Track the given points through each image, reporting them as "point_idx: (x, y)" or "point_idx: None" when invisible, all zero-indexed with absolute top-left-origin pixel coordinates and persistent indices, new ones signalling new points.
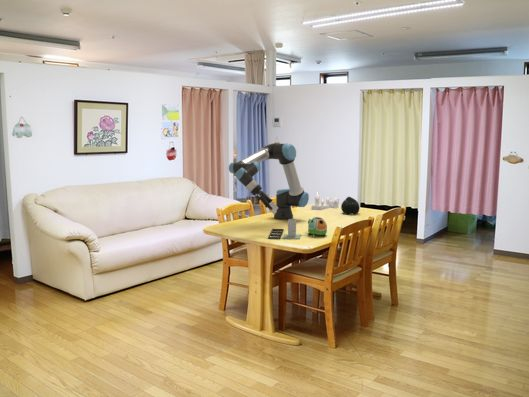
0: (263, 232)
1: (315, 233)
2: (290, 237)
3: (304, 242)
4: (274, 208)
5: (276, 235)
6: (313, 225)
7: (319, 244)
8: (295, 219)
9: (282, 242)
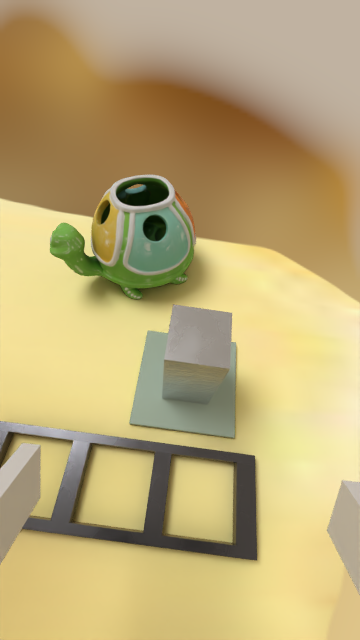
0: (17, 612)
1: (189, 264)
2: (220, 390)
3: (295, 330)
4: (17, 524)
5: (167, 483)
6: (182, 242)
7: (315, 279)
8: (184, 310)
9: (326, 446)
